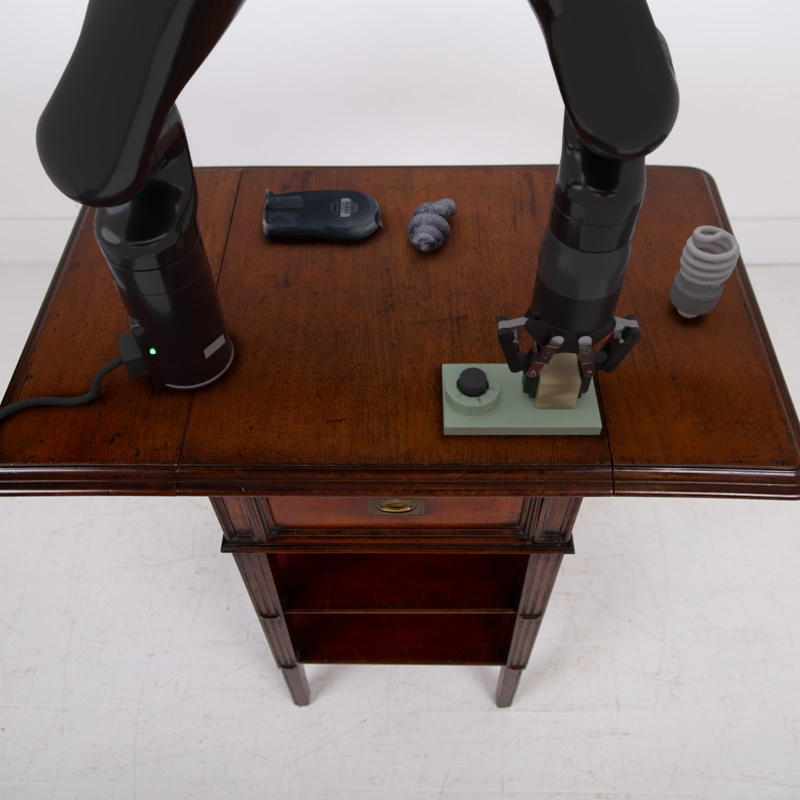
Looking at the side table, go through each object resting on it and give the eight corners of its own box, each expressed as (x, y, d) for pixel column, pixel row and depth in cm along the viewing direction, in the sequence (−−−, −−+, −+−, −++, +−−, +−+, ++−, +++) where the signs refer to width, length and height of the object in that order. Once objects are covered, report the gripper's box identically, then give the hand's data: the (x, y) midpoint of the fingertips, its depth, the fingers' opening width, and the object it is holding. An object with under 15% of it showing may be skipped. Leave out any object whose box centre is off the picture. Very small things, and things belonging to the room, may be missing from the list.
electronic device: (268, 259, 97) (383, 242, 96) (256, 222, 94) (375, 203, 92) (275, 222, 104) (382, 205, 103) (264, 185, 100) (375, 167, 99)
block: (535, 407, 78) (540, 383, 75) (531, 378, 80) (536, 352, 77) (574, 407, 78) (581, 382, 75) (569, 378, 80) (575, 352, 77)
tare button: (459, 397, 78) (460, 387, 77) (458, 376, 79) (459, 367, 78) (486, 397, 78) (487, 387, 76) (485, 376, 79) (486, 366, 78)
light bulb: (715, 306, 89) (751, 224, 80) (706, 338, 86) (742, 257, 76) (667, 293, 91) (696, 211, 81) (656, 324, 87) (685, 242, 78)
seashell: (434, 220, 102) (421, 272, 96) (410, 192, 99) (395, 243, 93) (466, 204, 98) (455, 256, 93) (442, 174, 95) (429, 226, 90)
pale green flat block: (443, 435, 78) (444, 417, 76) (441, 371, 83) (442, 353, 81) (599, 435, 78) (605, 417, 75) (587, 371, 83) (592, 353, 81)
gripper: (502, 297, 63) (487, 420, 77) (673, 296, 63) (628, 420, 77) (496, 239, 68) (483, 365, 82) (655, 238, 68) (615, 364, 81)
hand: (553, 391), depth 79 cm, fingers closed on block, 4 cm apart
